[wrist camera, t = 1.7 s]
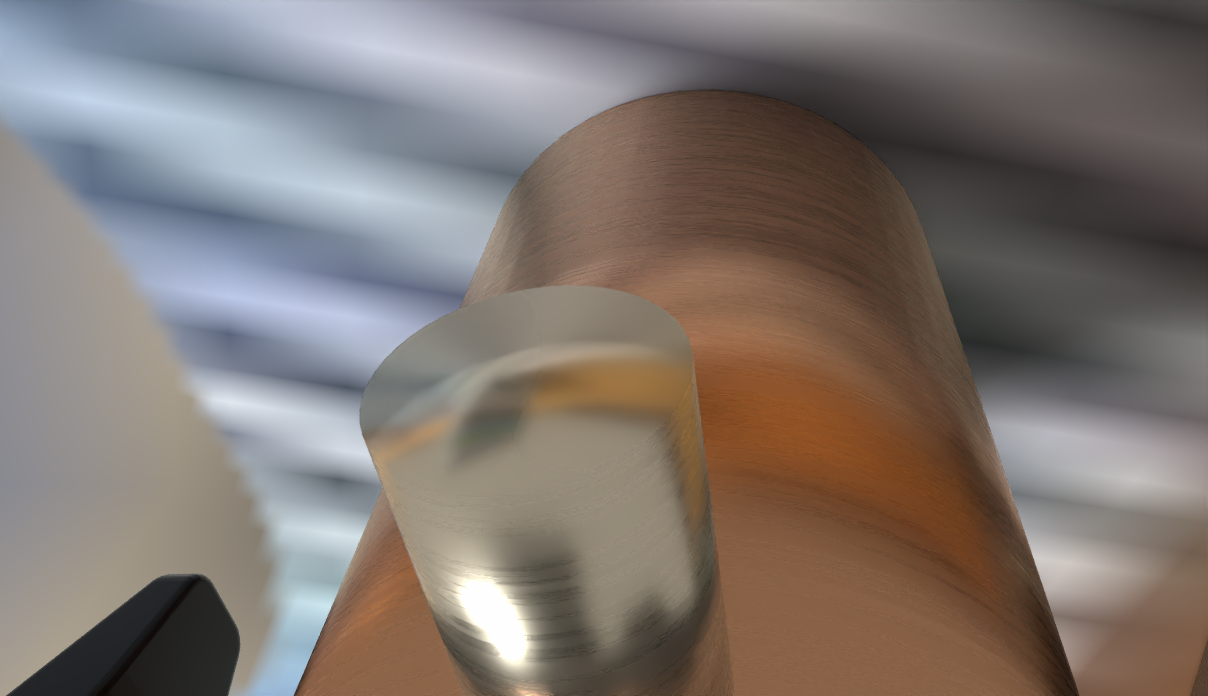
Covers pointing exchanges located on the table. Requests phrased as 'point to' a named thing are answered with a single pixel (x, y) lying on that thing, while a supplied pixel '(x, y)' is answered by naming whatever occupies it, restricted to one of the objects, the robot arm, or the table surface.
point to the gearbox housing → (1202, 677)
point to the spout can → (691, 442)
